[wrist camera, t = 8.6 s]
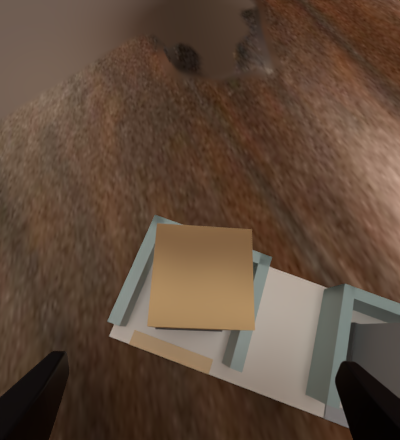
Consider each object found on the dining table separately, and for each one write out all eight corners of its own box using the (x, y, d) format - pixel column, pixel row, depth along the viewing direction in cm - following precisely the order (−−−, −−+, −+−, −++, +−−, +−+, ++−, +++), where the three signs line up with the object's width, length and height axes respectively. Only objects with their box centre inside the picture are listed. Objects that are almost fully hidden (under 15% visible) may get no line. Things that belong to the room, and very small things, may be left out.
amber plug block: (219, 331, 21) (257, 333, 12) (156, 329, 21) (144, 328, 12) (220, 268, 23) (253, 227, 14) (161, 265, 23) (154, 221, 13)
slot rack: (416, 452, 21) (470, 479, 17) (111, 336, 21) (99, 337, 18) (421, 326, 24) (468, 325, 20) (157, 229, 25) (155, 212, 21)
